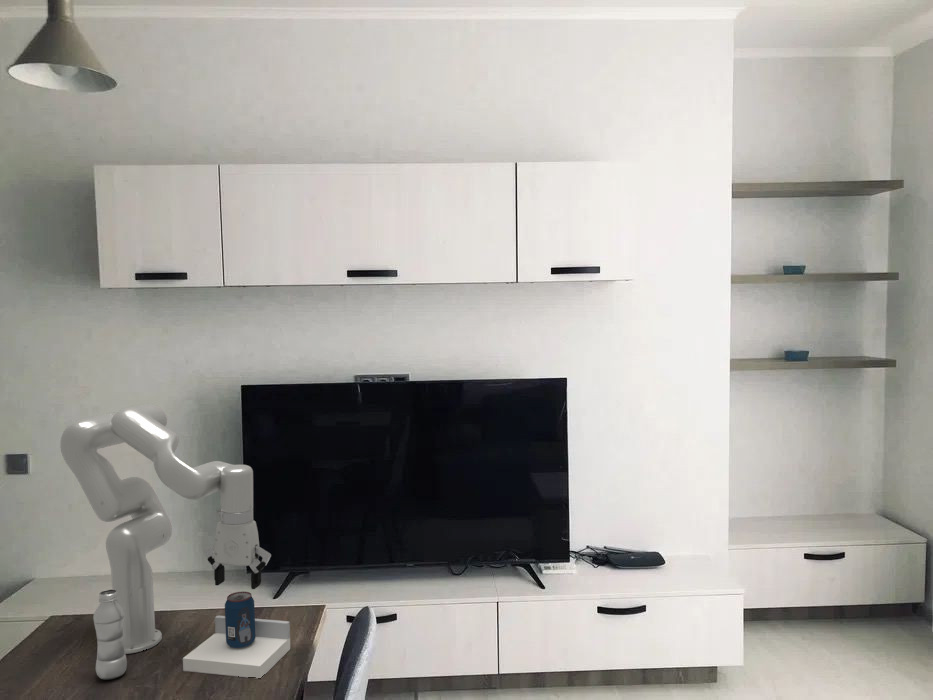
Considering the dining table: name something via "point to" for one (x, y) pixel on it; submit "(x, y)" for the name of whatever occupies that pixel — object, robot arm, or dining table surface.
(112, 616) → the plastic bottle
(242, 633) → the soda can
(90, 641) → the dining table surface
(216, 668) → the shelf
